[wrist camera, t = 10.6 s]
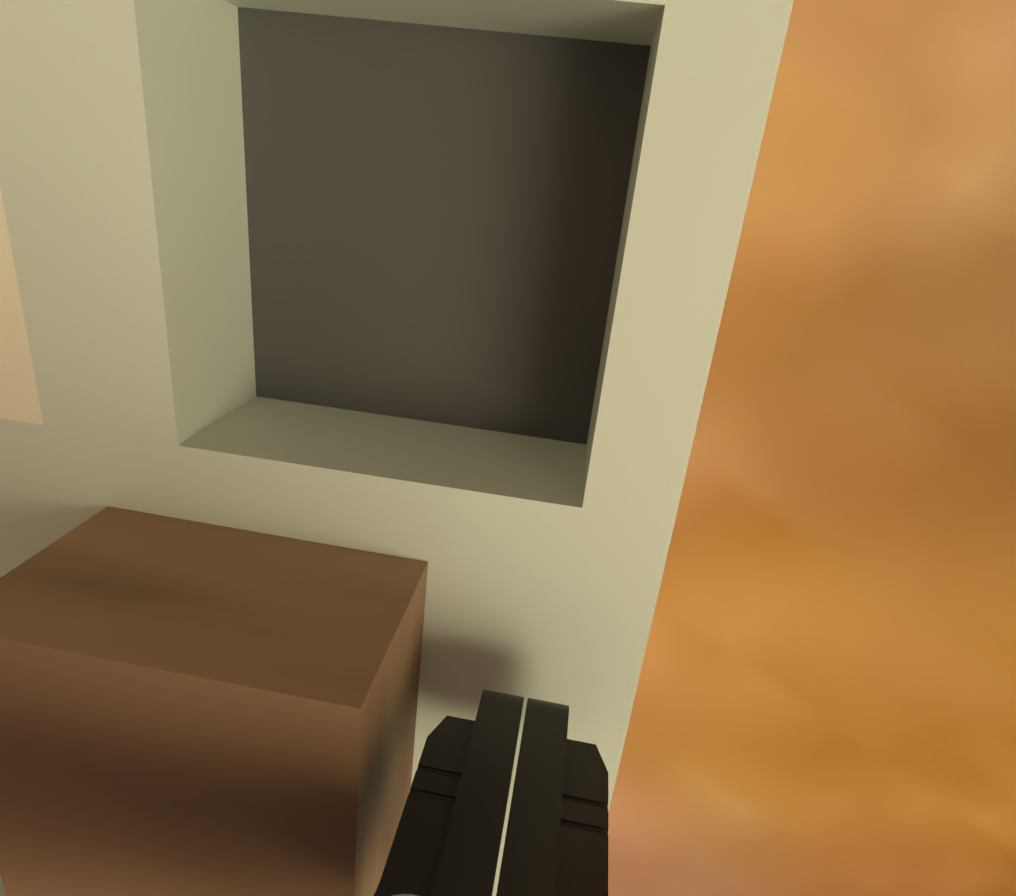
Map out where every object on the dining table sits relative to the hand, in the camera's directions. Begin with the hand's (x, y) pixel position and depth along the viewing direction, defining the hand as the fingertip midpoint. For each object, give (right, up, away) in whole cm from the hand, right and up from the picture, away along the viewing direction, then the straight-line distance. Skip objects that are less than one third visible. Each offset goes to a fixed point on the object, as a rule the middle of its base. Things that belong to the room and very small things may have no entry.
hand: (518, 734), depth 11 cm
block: (-5, +1, +2) cm, 5 cm away
